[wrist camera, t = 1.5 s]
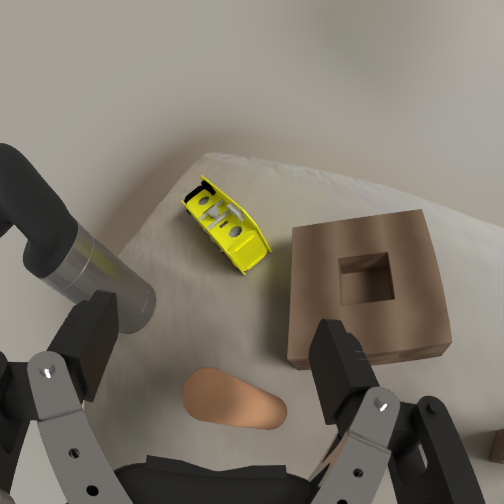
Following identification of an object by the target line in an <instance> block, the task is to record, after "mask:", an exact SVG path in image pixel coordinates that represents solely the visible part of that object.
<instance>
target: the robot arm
mask: <svg viewBox="0 0 504 504" xmlns="http://www.w3.org/2000/svg"><path fill="white" fill-rule="evenodd" d="M13 225H15V226H16V227H17V228H18V229H19V230H20V231H21V232H22V233H23V234H24V235H25V236H26V238H27V239H28V241H27V244H26V247H25V250H24V254H23V263H24V266H25V267H26V269H27V270H29V271H30V272H31V273H32V274H33V275H35V276H36V277H38V278H39V279H40V280H42V281H43V282H45V283H46V284H47V285H49V286H50V287H52V288H53V289H54V290H56V291H58V292H59V293H61V294H62V295H63V296H65V297H66V298H68V299H69V300H71V301H72V302H74V303H75V304H77V305H75V306H74V307H73V308H72V310H71V311H70V313H69V314H68V317H67V318H66V319H65V321H64V322H63V325H62V326H61V327H60V329H59V330H58V332H57V334H56V336H55V337H54V339H53V340H52V342H51V344H50V346H49V347H48V349H47V351H44V352H40V353H38V354H36V355H34V356H33V357H32V358H31V359H30V361H29V362H8V361H7V359H6V357H5V355H4V354H3V353H2V352H0V504H15V502H14V500H13V498H12V497H11V496H10V490H11V486H12V481H13V477H14V473H15V470H16V466H17V462H18V459H19V455H20V452H21V448H22V445H23V442H24V438H25V436H26V433H27V430H28V427H29V424H30V420H37V424H38V428H39V431H40V435H41V438H42V441H43V444H44V446H45V449H46V452H47V455H48V458H49V460H50V463H51V465H52V468H53V470H54V473H55V475H56V477H57V480H58V482H59V484H60V486H61V489H62V491H63V493H64V495H65V497H66V499H67V501H68V502H67V503H66V504H371V503H372V501H373V498H374V496H375V494H376V492H377V489H378V487H379V484H380V482H381V480H382V477H383V475H384V472H385V469H386V467H387V465H388V468H389V472H390V476H391V479H392V483H393V487H394V491H395V495H396V499H397V503H398V504H485V501H484V498H483V495H482V492H481V489H480V487H479V484H478V481H477V478H476V476H475V473H474V471H473V468H472V466H471V463H470V461H469V458H468V456H467V453H466V451H465V448H464V446H463V444H462V441H461V439H460V437H459V435H458V432H457V430H456V428H455V426H454V424H453V421H452V419H451V417H450V415H449V413H448V411H447V409H446V407H445V405H444V404H443V403H442V402H441V401H440V400H439V399H438V398H436V397H433V396H424V397H422V398H421V399H420V400H419V402H418V403H417V404H411V403H405V402H400V401H399V399H398V398H397V396H396V395H395V394H394V393H393V392H392V391H390V390H389V389H386V388H384V387H380V386H379V383H378V381H377V379H376V377H375V374H374V372H373V370H372V368H371V366H370V363H369V361H368V360H367V357H366V355H365V353H364V352H363V348H362V346H361V344H360V342H359V341H358V340H357V339H356V338H355V336H354V335H353V334H352V333H347V332H346V330H345V327H344V325H343V323H342V321H341V320H335V319H321V321H320V322H319V325H318V327H317V330H316V332H315V335H314V337H313V340H312V342H311V345H310V348H309V354H308V358H309V363H310V367H311V371H312V374H313V378H314V382H315V385H316V389H317V393H318V397H319V400H320V404H321V408H322V412H323V416H324V419H325V423H326V425H332V424H337V428H338V432H337V434H336V435H335V437H334V439H333V441H332V442H331V444H330V446H329V448H328V449H327V451H326V453H325V455H324V456H323V458H322V460H321V461H320V463H319V465H318V466H317V468H316V469H315V470H314V472H313V473H312V474H311V476H310V477H309V478H308V479H307V480H306V479H304V478H301V477H299V476H296V475H293V474H289V473H287V472H286V465H270V466H254V465H253V466H248V467H243V468H237V469H232V470H226V471H212V470H209V469H206V468H203V467H199V466H196V465H193V464H190V463H187V462H184V461H182V460H175V459H168V458H162V457H156V456H150V455H147V458H146V463H136V464H131V465H127V466H123V467H121V468H118V469H116V470H114V471H113V470H112V468H111V466H110V464H109V463H108V461H107V459H106V457H105V455H104V453H103V451H102V449H101V447H100V445H99V443H98V441H97V439H96V437H95V435H94V433H93V431H92V429H91V427H90V425H89V422H88V420H87V418H86V416H85V413H84V411H83V409H82V406H81V405H82V403H83V400H86V401H89V402H93V401H94V398H95V395H96V392H97V389H98V387H99V384H100V381H101V378H102V376H103V373H104V370H105V368H106V365H107V362H108V360H109V357H110V355H111V352H112V350H113V347H114V345H115V342H116V340H117V337H118V332H119V331H120V332H122V333H127V334H129V333H133V332H136V331H138V330H139V329H140V328H142V327H143V326H144V325H145V324H146V323H147V321H148V320H149V319H150V317H151V315H152V313H153V310H154V307H155V302H156V298H155V292H154V290H153V288H152V287H151V286H150V285H149V284H148V283H147V282H145V281H144V280H143V279H142V278H141V277H139V276H138V275H137V274H136V273H135V272H134V271H132V270H131V269H130V268H129V267H128V266H127V265H125V264H124V263H123V262H122V261H121V260H120V259H118V258H117V257H116V256H115V255H114V254H113V253H111V252H110V251H109V250H108V249H107V248H106V247H105V246H104V245H103V244H101V243H100V242H99V241H98V240H97V239H96V238H95V237H94V236H93V235H91V234H90V233H89V232H88V231H87V230H86V229H85V228H84V227H83V226H82V225H80V223H78V222H77V221H76V220H75V219H74V218H73V217H72V216H71V215H70V213H69V211H68V210H67V208H66V206H65V205H64V203H63V201H62V200H61V199H60V198H59V196H58V195H57V194H56V193H55V192H54V191H53V189H52V188H51V187H50V186H49V185H48V184H47V183H46V181H45V180H44V179H43V178H42V177H41V175H40V174H39V173H38V172H37V170H36V169H35V168H34V167H33V165H32V164H31V163H30V162H29V161H28V160H27V159H26V158H25V157H24V155H22V153H20V152H19V151H18V150H17V149H15V148H14V147H12V146H10V145H8V144H4V143H0V237H2V236H3V235H4V234H5V233H6V232H7V231H8V230H9V229H10V228H11V227H12V226H13ZM420 444H422V447H423V450H424V453H425V455H426V458H427V462H428V465H427V469H426V468H425V465H424V462H423V459H422V456H421V453H420V450H419V448H418V446H419V445H420Z"/></svg>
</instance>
